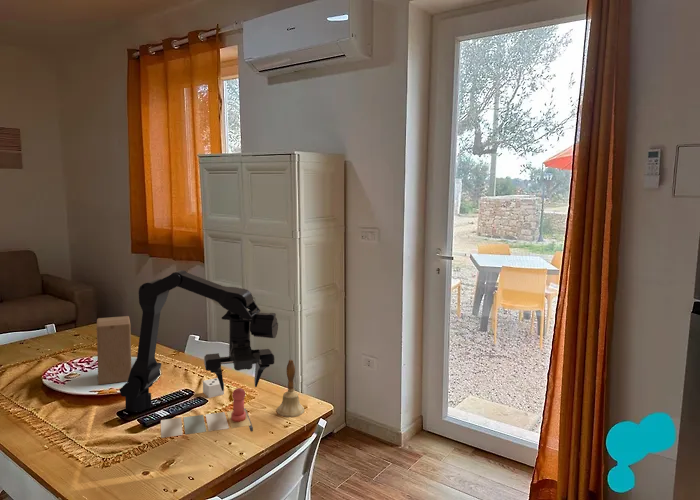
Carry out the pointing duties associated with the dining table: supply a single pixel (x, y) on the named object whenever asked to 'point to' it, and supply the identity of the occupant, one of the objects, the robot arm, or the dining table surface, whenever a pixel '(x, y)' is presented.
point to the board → (201, 424)
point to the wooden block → (113, 349)
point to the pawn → (238, 405)
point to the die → (212, 388)
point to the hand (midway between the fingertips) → (239, 388)
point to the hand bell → (290, 396)
